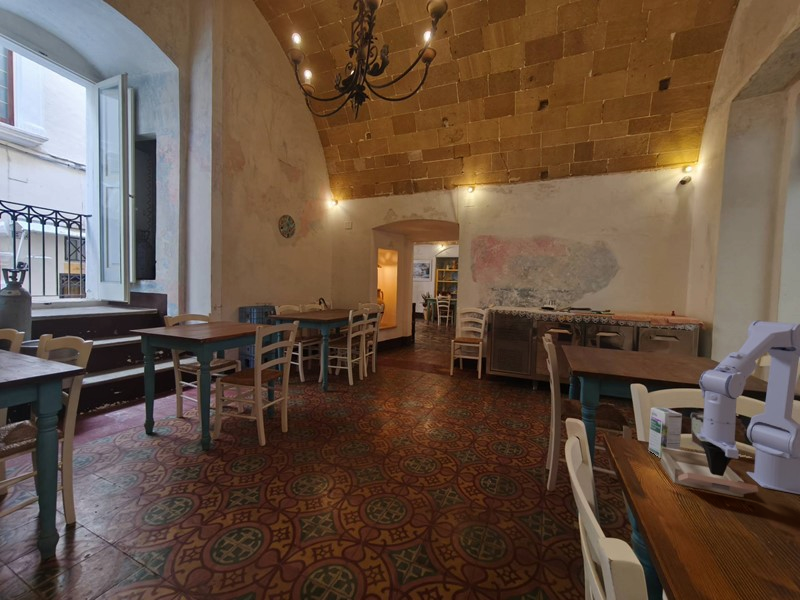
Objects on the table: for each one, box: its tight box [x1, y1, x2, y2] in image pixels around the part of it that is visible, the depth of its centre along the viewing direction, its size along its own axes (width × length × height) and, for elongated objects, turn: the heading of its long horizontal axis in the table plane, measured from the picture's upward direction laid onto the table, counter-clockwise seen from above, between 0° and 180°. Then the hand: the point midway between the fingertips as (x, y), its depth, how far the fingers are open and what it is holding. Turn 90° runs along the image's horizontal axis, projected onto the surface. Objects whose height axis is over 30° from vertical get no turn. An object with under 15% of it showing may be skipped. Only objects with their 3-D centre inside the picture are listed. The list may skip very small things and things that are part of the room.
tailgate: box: [678, 472, 759, 495], centre depth 84 cm, size 13×2×7 cm
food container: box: [690, 411, 708, 450], centre depth 112 cm, size 12×6×10 cm, turn 168°
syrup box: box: [648, 406, 683, 459], centre depth 106 cm, size 6×6×14 cm
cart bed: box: [660, 447, 745, 498], centre depth 93 cm, size 14×12×5 cm
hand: (716, 474), depth 84 cm, fingers closed
